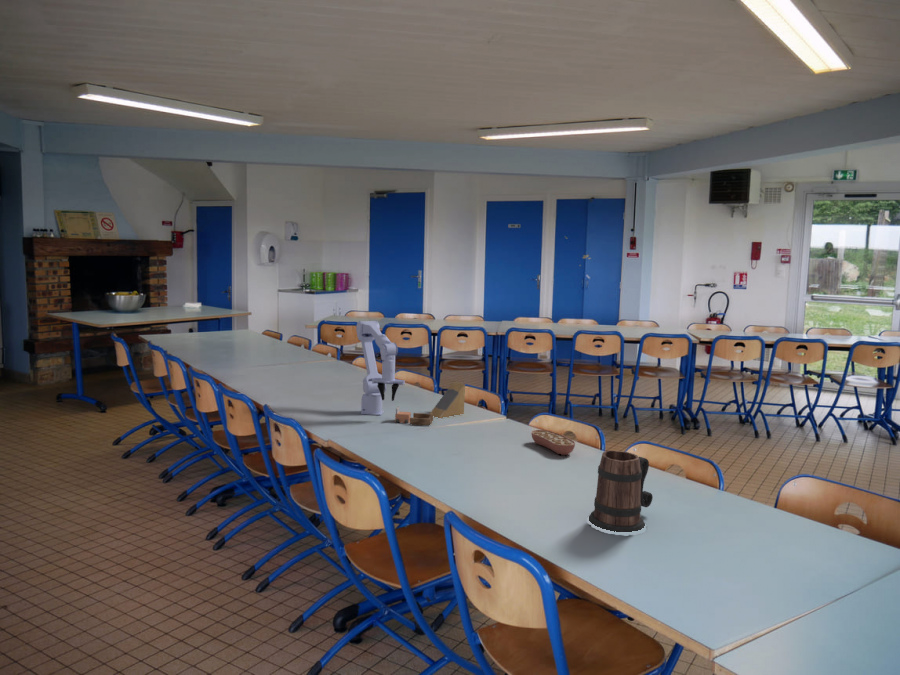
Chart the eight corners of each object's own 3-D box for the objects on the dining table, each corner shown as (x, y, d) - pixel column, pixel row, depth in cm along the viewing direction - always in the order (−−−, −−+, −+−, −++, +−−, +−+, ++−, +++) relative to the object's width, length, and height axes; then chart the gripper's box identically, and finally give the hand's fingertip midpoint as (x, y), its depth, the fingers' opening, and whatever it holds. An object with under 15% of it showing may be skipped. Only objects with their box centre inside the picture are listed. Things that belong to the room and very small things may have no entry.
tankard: (622, 541, 171) (626, 468, 169) (573, 520, 184) (577, 452, 182) (673, 521, 185) (678, 454, 183) (625, 503, 199) (629, 440, 196)
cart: (395, 423, 286) (395, 408, 286) (397, 419, 292) (398, 405, 291) (408, 423, 286) (408, 409, 285) (410, 420, 292) (411, 406, 291)
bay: (409, 424, 283) (409, 418, 283) (413, 419, 293) (413, 412, 293) (429, 425, 282) (430, 419, 282) (433, 420, 292) (433, 413, 292)
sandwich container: (427, 415, 302) (428, 384, 300) (452, 411, 312) (453, 380, 310) (438, 419, 295) (439, 387, 294) (464, 415, 305) (465, 383, 303)
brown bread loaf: (526, 442, 262) (527, 430, 261) (547, 440, 266) (547, 428, 265) (559, 459, 241) (559, 446, 241) (580, 456, 245) (581, 443, 245)
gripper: (370, 370, 284) (370, 401, 285) (402, 372, 282) (402, 402, 284) (374, 368, 291) (373, 397, 292) (405, 369, 289) (405, 399, 291)
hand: (388, 400), depth 289 cm, fingers open, 4 cm apart
